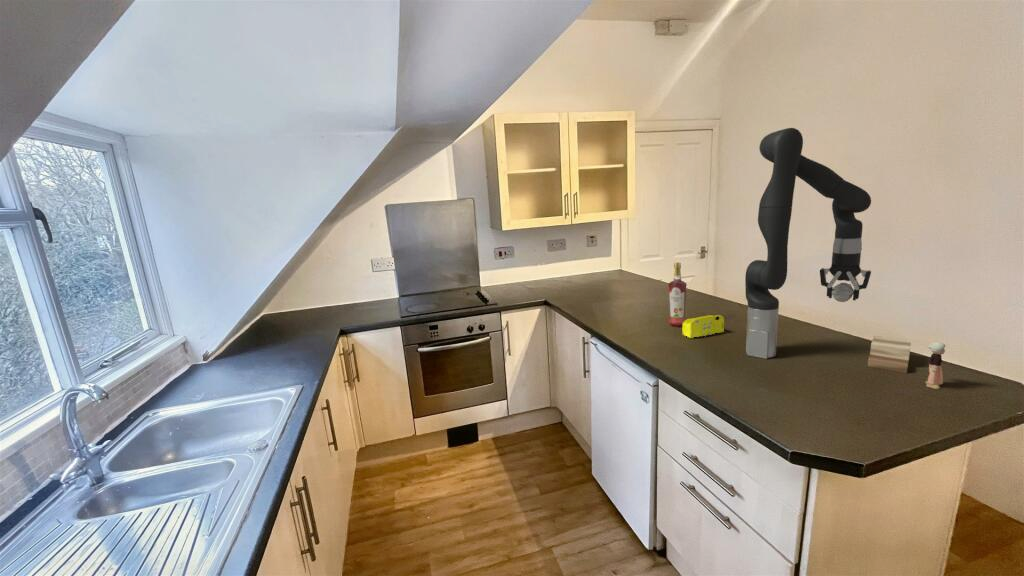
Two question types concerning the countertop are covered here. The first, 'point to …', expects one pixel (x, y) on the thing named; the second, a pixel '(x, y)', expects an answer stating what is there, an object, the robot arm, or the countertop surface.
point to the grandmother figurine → (935, 365)
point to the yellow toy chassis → (703, 326)
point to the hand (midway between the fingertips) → (842, 298)
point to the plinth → (889, 354)
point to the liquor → (677, 298)
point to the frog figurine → (842, 292)
